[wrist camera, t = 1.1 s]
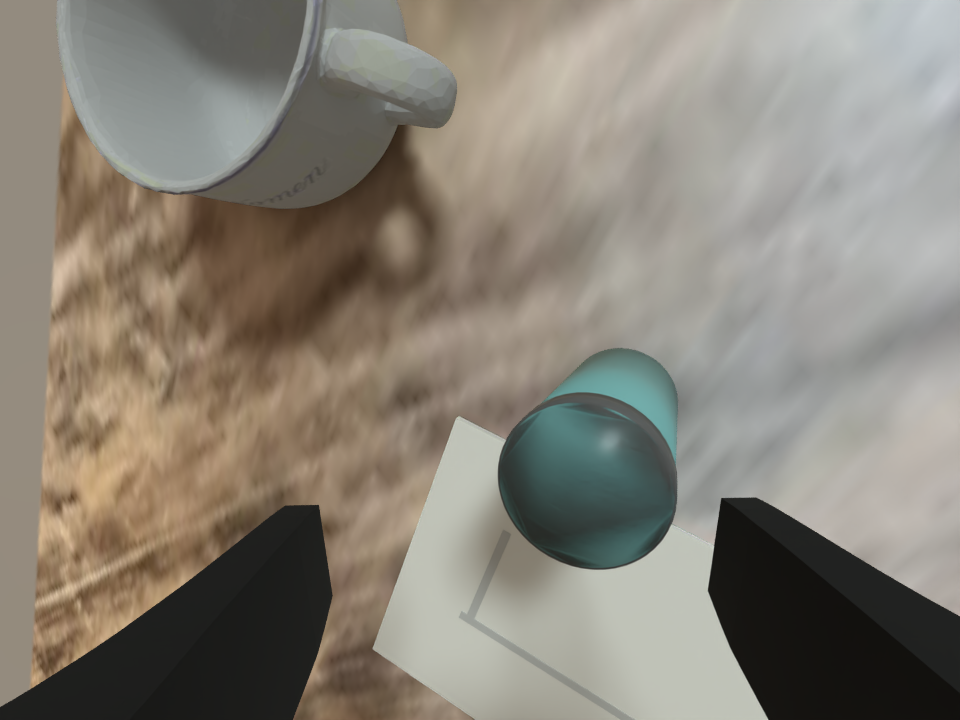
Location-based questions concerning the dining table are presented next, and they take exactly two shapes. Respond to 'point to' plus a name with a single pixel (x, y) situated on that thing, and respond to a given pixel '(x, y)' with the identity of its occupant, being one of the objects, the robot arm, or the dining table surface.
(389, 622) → the paper pad
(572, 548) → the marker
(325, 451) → the dining table surface
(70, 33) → the teacup
